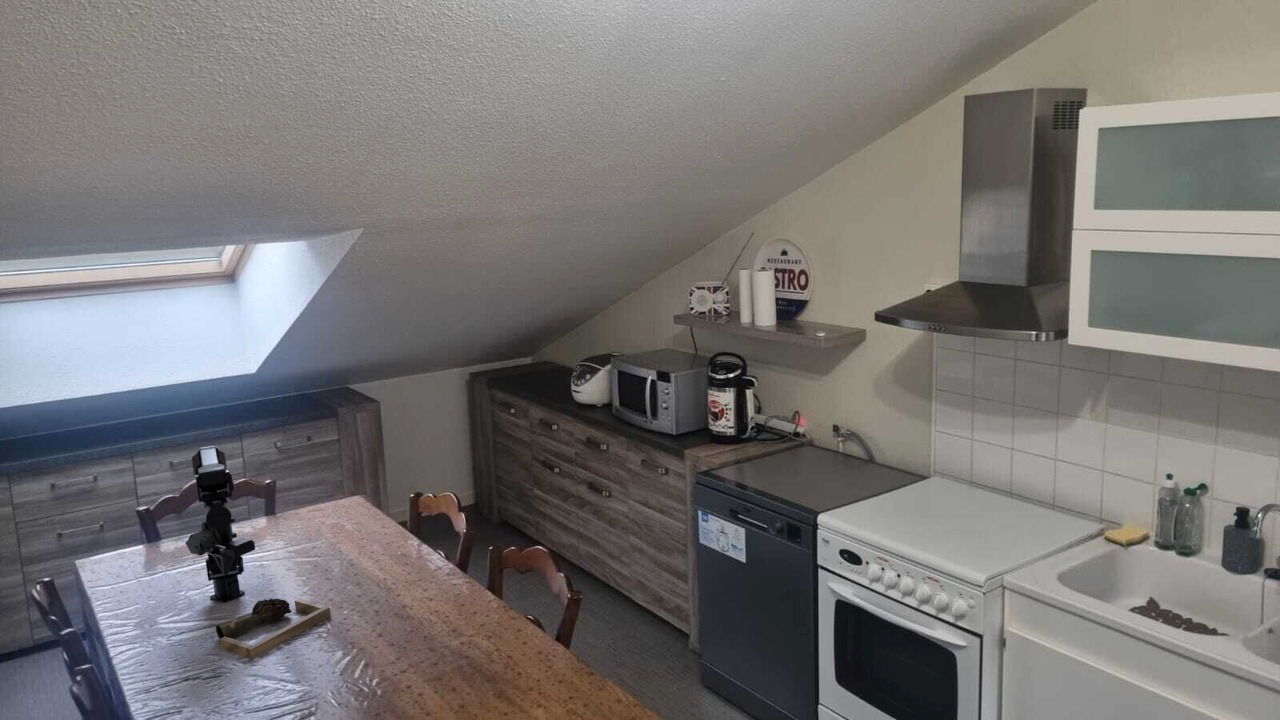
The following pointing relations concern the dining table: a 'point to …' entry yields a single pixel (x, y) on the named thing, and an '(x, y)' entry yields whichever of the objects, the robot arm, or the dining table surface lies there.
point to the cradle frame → (252, 651)
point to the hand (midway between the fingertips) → (225, 574)
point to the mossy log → (254, 618)
